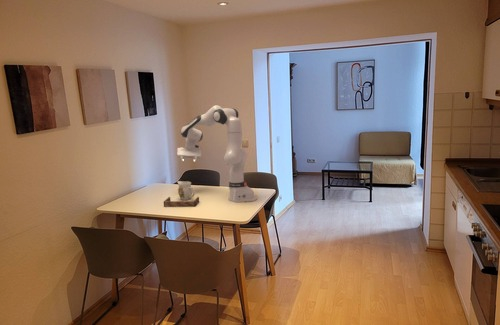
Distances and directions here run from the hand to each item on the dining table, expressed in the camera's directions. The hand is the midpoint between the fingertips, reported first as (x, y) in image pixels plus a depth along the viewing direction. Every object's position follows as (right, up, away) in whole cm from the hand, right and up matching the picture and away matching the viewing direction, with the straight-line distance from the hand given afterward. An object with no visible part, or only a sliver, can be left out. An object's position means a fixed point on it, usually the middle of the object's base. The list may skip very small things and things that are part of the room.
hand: (188, 161), depth 313 cm
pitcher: (0, -30, -9) cm, 31 cm away
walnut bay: (-1, -32, -22) cm, 39 cm away
